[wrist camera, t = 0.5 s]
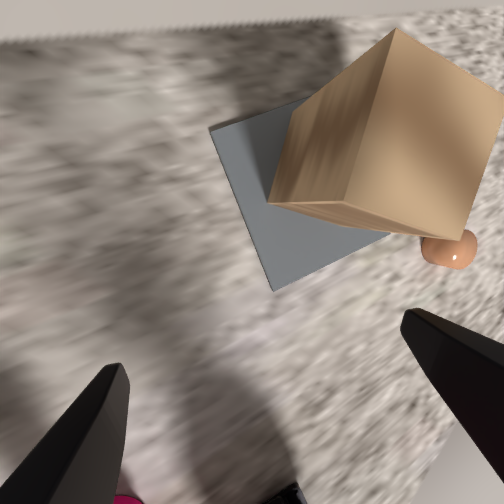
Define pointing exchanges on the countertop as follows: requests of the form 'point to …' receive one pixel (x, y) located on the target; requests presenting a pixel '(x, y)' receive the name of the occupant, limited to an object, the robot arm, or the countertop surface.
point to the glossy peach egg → (450, 250)
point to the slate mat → (273, 217)
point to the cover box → (391, 144)
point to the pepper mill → (125, 500)
